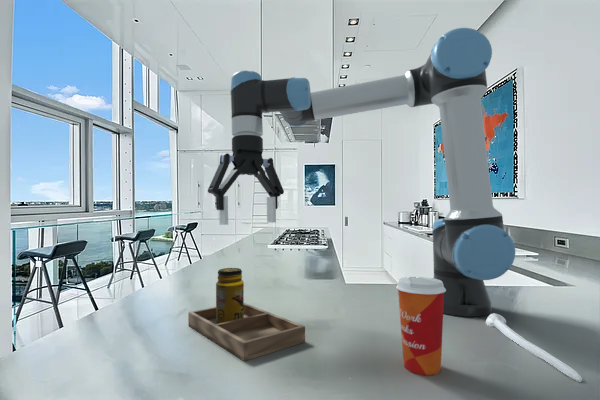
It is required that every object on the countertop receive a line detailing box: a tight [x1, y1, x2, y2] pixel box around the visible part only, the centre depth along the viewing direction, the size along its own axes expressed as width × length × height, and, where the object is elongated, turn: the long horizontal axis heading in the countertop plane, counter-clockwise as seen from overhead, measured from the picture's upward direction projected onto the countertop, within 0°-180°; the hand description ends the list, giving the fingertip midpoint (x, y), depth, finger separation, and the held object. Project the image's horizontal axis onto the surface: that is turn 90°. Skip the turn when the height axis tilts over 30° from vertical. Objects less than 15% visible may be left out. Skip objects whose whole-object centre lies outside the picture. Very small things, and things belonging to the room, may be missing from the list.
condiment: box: [210, 267, 245, 324], centre depth 78 cm, size 7×8×12 cm
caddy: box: [187, 302, 306, 362], centre depth 73 cm, size 24×14×3 cm, turn 39°
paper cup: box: [395, 276, 446, 376], centre depth 57 cm, size 8×8×14 cm
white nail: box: [485, 312, 583, 382], centre depth 65 cm, size 28×4×3 cm, turn 177°
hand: (248, 223), depth 85 cm, fingers open, 13 cm apart
